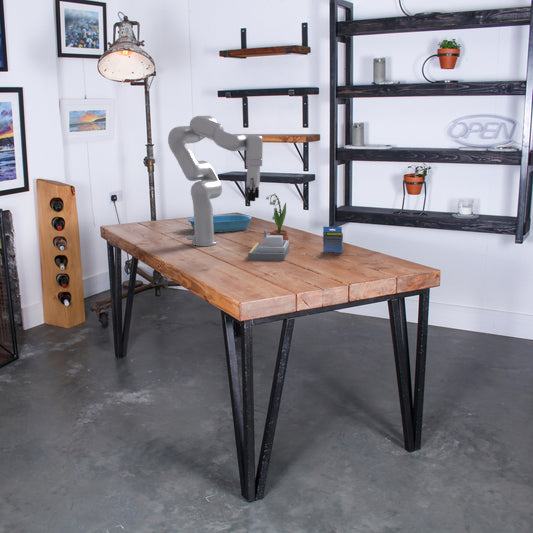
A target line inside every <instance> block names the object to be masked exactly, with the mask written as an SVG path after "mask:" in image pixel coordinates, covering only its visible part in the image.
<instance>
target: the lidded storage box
mask: <svg viewBox="0 0 533 533" xmlns="http://www.w3.org/2000/svg"><path fill="white" fill-rule="evenodd" d="M263 233H264V235H263V237H264V238H263V239H264V240H263V243H264V247H282V246H283V235H270V234H268V228H265V229H264V230H263Z"/></svg>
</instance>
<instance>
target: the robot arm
mask: <svg viewBox="0 0 533 533" xmlns="http://www.w3.org/2000/svg"><path fill="white" fill-rule="evenodd" d="M224 130H225V128H224V126H223V124H222V123H219V122H217V119H215V117H214V116H211V115H196V116H194V117H192V119H191V120H190V121H189V125H184V126H183V125H181V126H179V125H178V126H176V127H173V128H172V129H170V131H169V133H168V138H167V144H168V147H169V149H170V151H171V152H172V154H173V156H174V157H175V159H176V160H177V162H178V165H179V167H180V168H181V171H182V172H183V175H184V176H185V178H186V179H187V180H188V181H191V182H194V183H193V184H192V185H191V189H190V197H191V200H192V206H193V217H194V229H195V230H194V234H193V235H186V240H188V241H192V242H191V245H193V246H195V245H196V246H197V247H209V246H210V247H211V246H215V245H217V244H218V240H217V239H215V237H214V236H215V235H214V234H215V233H214V228H213V216H214V208H213V205H212V202H211V200H212V199H216V198H219V197H220V196H221V195H222V192H223V187H222V183H221V180H219V177H218V176H217V174H216V171H215V169H214V168H213V166H212V165H211V164H210V162H208V161H205V160H197V158H196V157H195V155H194V153H193V151H192V150H191V149H190V148H189V147H188V146H187V145H186V144H195V143H198V142H200V141H202V140H204V139H208V140H211V141H213V143H215V145H216V146H218V147H220V148H222V149H225V150H227V151H230V152H239V151H246V152H245V153H246V154H245V166H246V167H247V169H246V170H247V171H246V183H245V184H246V188H248V194H247V195H248V199H247V200H248V202H256V199H259V198H260V197H259V196H260V188H259V186H260V184H261V183H260V182H261V167H263V150H264V149H263V141H264V140H263V136H262V135H258V134H257V135H256V134H255V135H254V134H252V135H251V134H247V133H239V134H238V133H236V134H235V133H234V134H232V133H229V132H226V131H224Z"/></svg>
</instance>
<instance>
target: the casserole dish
mask: <svg viewBox="0 0 533 533" xmlns="http://www.w3.org/2000/svg"><path fill="white" fill-rule="evenodd" d="M252 218H253V216H252V215H247V214H246V215H245V214H221V215H213V228H214V234H215V232H219V233H230V232H229V231H232V232H241V230H242V231H247V229H248V228H249V226H250V223H251V220H252ZM187 222H189V223H190V225H191V228H192V229H194V216H193V217H190V218H189V219H187ZM194 231H195V229H194Z"/></svg>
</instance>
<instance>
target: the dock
mask: <svg viewBox="0 0 533 533" xmlns="http://www.w3.org/2000/svg"><path fill="white" fill-rule="evenodd" d="M289 251H290V241H289V240H288V241H283V246H282V247H264V242H255V244H254V245H253V247H252V248H251V249H250V250H249V252H248V255H247V257H248V261H285V259H286V257H287V255H288V253H289Z"/></svg>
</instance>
